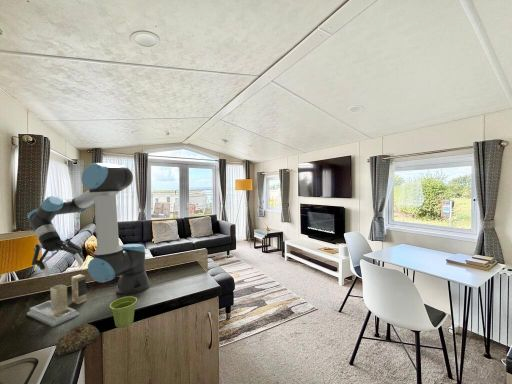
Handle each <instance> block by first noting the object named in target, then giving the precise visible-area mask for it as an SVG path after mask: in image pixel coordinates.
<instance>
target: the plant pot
mask: <svg viewBox="0 0 512 384" xmlns="http://www.w3.org/2000/svg"><path fill="white" fill-rule="evenodd" d="M137 302H138V297H135V296H123V297H120V298H117V299H115V300H113V301H112V302H111V303H110V304H109V309H110V310H111V312H112V315H113V321H114V324H115V325H114V326H115V327H116V328H118V329H124V328H126V327H128V326H130V325H132V324H133V323H134V319H135V318H134V317H135V310H136V309H135V308H136V304H137Z"/></svg>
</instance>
